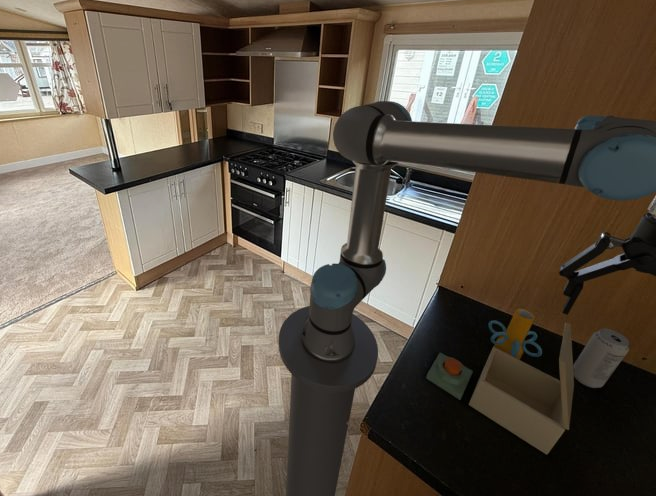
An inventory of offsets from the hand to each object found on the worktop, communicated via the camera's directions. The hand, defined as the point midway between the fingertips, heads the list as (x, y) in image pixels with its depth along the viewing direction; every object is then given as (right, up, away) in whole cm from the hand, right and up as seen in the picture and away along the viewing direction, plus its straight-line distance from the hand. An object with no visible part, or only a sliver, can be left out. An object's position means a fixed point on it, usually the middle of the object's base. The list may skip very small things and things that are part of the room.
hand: (611, 328), depth 55 cm
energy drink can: (+20, -22, +24) cm, 38 cm away
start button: (-15, -19, +23) cm, 33 cm away
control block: (-15, -22, +24) cm, 36 cm away
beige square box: (-4, -25, +17) cm, 31 cm away
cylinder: (+4, -19, +30) cm, 36 cm away
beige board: (-1, -12, +7) cm, 14 cm away
